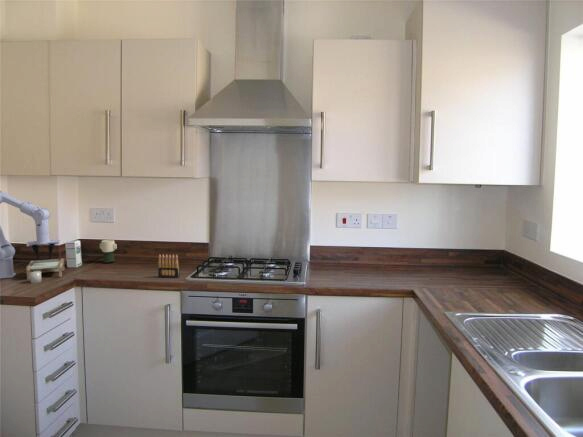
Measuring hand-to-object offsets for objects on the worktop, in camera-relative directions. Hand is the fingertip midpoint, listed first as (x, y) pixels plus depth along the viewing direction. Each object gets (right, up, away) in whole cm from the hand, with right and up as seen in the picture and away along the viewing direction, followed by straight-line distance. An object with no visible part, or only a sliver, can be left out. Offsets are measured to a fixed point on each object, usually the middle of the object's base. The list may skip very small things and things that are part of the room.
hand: (44, 259), depth 220 cm
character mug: (+19, -5, +34) cm, 39 cm away
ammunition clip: (+63, -9, 0) cm, 64 cm away
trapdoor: (-1, -4, +4) cm, 5 cm away
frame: (-2, -9, +5) cm, 10 cm away
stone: (+1, -10, -9) cm, 14 cm away
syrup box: (+3, -7, +24) cm, 25 cm away
